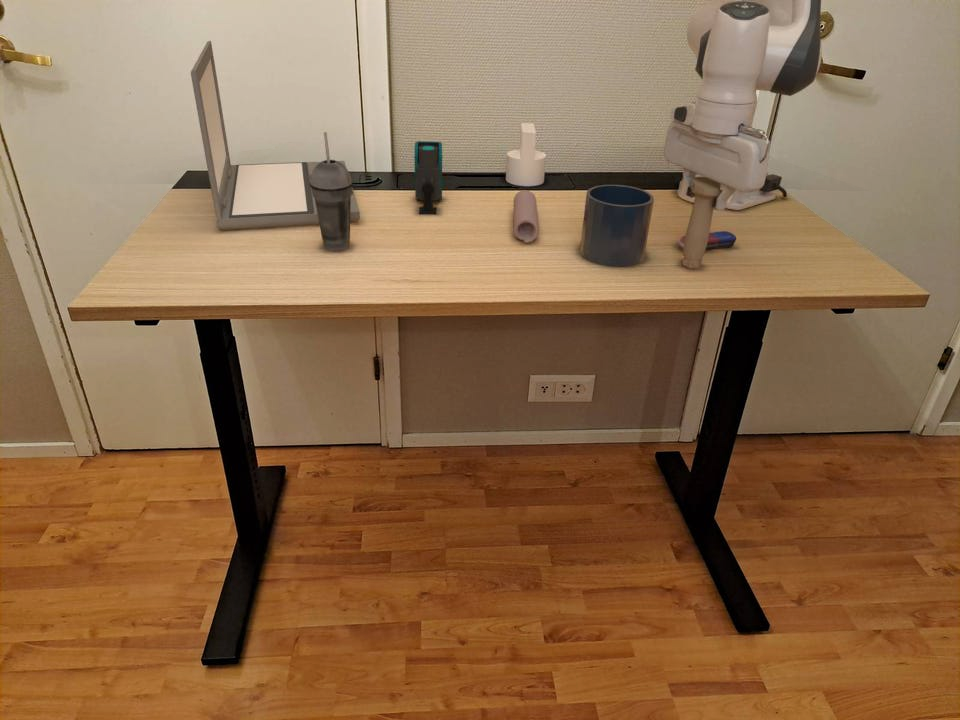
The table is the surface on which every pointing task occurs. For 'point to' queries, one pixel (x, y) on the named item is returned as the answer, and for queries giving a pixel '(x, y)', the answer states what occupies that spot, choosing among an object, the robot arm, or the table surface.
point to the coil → (525, 216)
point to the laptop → (250, 170)
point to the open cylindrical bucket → (616, 225)
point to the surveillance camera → (428, 174)
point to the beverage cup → (332, 201)
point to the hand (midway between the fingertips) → (703, 202)
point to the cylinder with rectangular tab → (526, 160)
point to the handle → (699, 220)
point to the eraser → (716, 240)
